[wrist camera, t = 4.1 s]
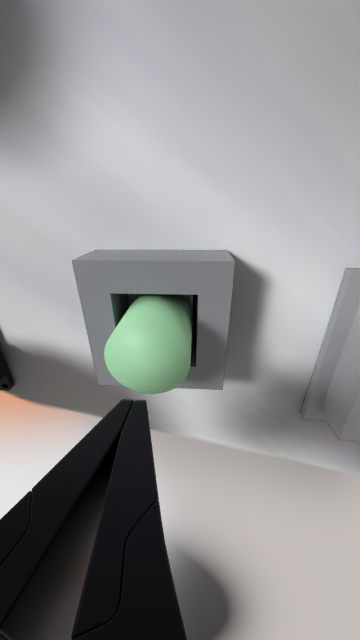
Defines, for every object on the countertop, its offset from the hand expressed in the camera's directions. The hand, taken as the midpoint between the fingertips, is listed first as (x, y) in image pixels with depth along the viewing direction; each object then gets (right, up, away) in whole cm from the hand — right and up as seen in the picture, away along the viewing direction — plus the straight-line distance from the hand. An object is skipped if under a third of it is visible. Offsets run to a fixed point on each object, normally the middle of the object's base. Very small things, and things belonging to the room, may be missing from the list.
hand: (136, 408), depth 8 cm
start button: (0, +3, +7) cm, 7 cm away
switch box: (0, +4, +8) cm, 8 cm away
